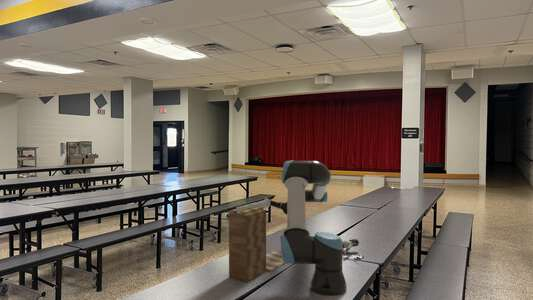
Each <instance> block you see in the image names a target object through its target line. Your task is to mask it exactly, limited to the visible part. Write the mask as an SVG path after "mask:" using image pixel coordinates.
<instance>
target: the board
mask: <svg viewBox="0 0 533 300" xmlns="http://www.w3.org/2000/svg"><path fill="white" fill-rule="evenodd" d="M285 264H286V263H285V262H284V261H283V259H282V252H281V251H278V250H274V251H271V252H269V253H266V272H272V271H274V270H276V269H278V268H280V267H281V266H283V265H285Z"/></svg>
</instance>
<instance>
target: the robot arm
mask: <svg viewBox="0 0 533 300" xmlns="http://www.w3.org/2000/svg"><path fill="white" fill-rule="evenodd" d="M281 174H282V175H281V183H282V184H284V186H285V188H286V189H287V195H286V197H287V199H286V200H287V201H286V202H277V201H275V200H272V199H270V198H268V197H264V199H263V200H270V207H273V208H275V209H279V210H281V211H282V212H283V213H284V214H285V215H286V229H285V230H284V231H283V235H280V238H279V240H280V250H281V251H280V252H282V259H283V261H284V262H285V264H292V265H314V272H313V275H312V277H311V278H312V279H311V280H310V289H311V290H312V291H313V292H315V293H318V294H320V295H326V296H337V295H341V294H344V293H345V292H346V291H347V282H346V278H345V275H344V271H343V251H344V250H343V247H342V241H343V240H342V238H341V237H340V236H339V235H337V234H334V233H331V232H325V231H320V232H319V231H317V232H315V234H314V236H312V235H311V234H310V231H309V230H308V229H307V226H306V225H307V224H306V220H307V219H306V216H307V215H306V203H327V202H328V191H327V185H329V183H330V181H331V176H332V175H331V171H330V170H329V168H328V167H327V166H326V165H325V164H324V163H322V162H319V161H317V160H286V161H285V162H283V167H282V173H281ZM309 184H310V185H312V188H311V189H307V188H308V186H309ZM310 235H311V236H310ZM342 250H343V251H342Z"/></svg>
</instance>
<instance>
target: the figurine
mask: <svg viewBox="0 0 533 300" xmlns="http://www.w3.org/2000/svg"><path fill="white" fill-rule="evenodd" d="M359 244H360V242H359V240H358V239H356V238H354V239H348V241H347V240H342V247H343V250H342V252H343V253H344V256H345V255H347V253H348V252H349V251H350V250H351V248H353V247H358V246H359Z"/></svg>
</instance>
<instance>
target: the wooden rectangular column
mask: <svg viewBox="0 0 533 300" xmlns="http://www.w3.org/2000/svg"><path fill="white" fill-rule="evenodd" d="M266 255H267V209H264V208H263V206H260V207H256V208H253V209H249V210H245V211H242V212H241V214H236V208H235V209H232V210H231V211H230V212H229V213H228V278H230V279H234V280H238V281H241V282H245V283H247V282H249V281H251V280H253V279H255V278H257V277H258V276H260V275H261V274H264V273H265V272H267V270H266Z"/></svg>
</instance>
